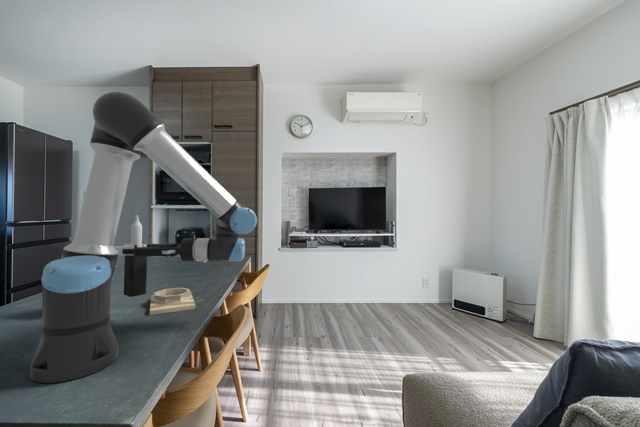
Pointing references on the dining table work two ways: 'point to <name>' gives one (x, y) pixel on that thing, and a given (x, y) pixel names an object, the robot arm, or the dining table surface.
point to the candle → (135, 265)
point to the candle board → (171, 301)
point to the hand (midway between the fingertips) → (118, 249)
